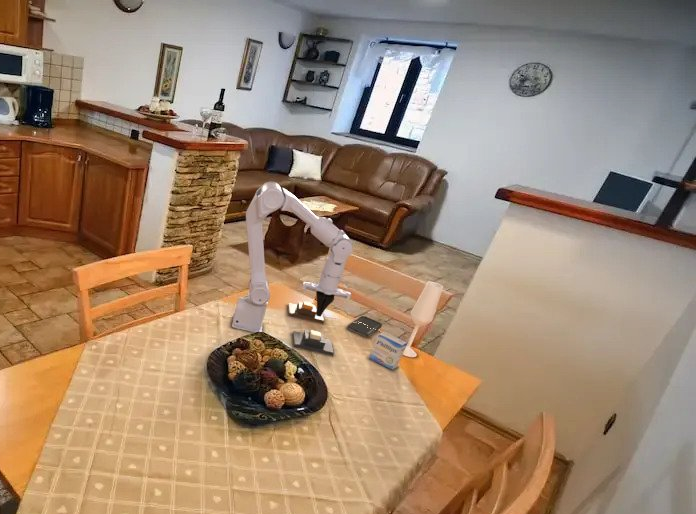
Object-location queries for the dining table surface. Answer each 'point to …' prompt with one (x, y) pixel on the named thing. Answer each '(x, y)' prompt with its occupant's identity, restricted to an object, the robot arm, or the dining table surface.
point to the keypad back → (304, 312)
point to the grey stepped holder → (312, 343)
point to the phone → (364, 326)
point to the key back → (307, 305)
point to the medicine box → (388, 350)
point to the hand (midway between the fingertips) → (318, 314)
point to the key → (315, 335)
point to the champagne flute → (424, 311)
